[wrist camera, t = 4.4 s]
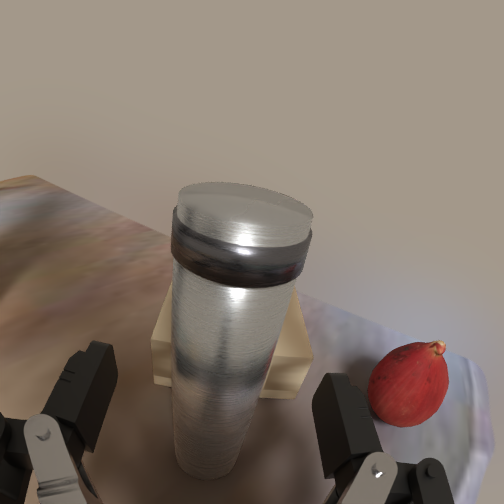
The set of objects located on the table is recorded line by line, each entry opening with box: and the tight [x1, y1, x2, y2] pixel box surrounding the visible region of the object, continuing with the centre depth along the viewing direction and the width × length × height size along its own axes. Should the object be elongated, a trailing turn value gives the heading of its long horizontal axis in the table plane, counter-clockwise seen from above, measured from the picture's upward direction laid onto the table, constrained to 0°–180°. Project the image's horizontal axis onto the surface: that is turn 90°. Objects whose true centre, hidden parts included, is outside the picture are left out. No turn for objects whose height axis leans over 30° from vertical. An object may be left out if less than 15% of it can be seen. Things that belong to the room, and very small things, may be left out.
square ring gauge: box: [151, 282, 313, 399], centre depth 22 cm, size 10×10×4 cm
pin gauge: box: [171, 182, 313, 480], centre depth 11 cm, size 4×4×15 cm
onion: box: [367, 340, 449, 427], centre depth 16 cm, size 6×6×8 cm
